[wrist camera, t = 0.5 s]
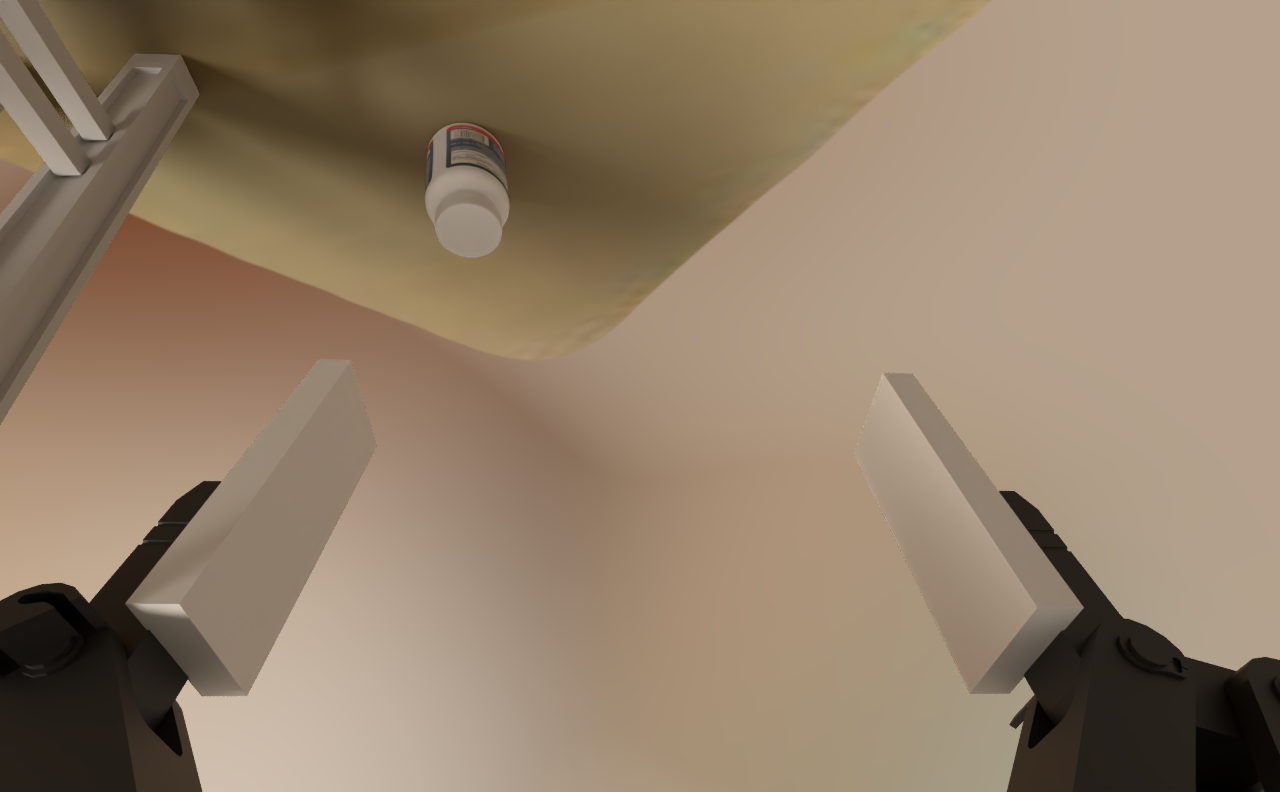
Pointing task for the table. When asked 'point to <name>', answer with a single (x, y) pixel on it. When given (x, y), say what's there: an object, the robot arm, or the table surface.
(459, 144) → the pill bottle
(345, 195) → the table surface
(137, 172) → the stool
